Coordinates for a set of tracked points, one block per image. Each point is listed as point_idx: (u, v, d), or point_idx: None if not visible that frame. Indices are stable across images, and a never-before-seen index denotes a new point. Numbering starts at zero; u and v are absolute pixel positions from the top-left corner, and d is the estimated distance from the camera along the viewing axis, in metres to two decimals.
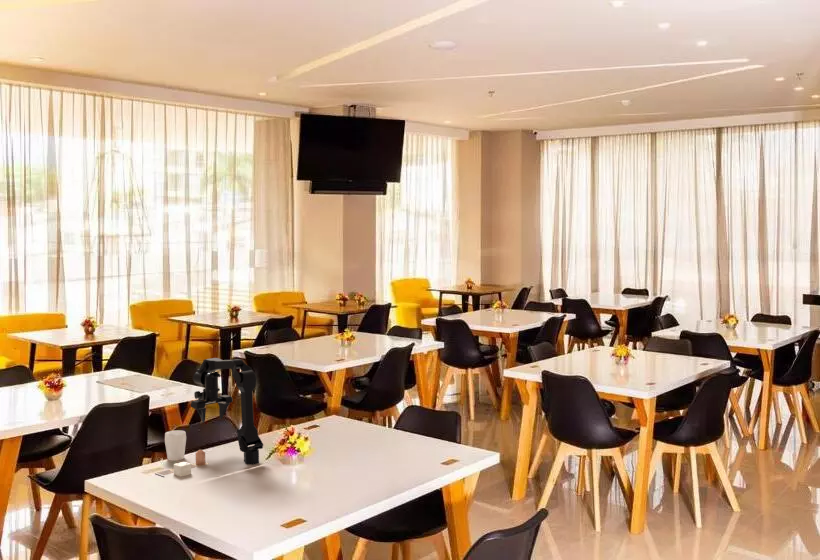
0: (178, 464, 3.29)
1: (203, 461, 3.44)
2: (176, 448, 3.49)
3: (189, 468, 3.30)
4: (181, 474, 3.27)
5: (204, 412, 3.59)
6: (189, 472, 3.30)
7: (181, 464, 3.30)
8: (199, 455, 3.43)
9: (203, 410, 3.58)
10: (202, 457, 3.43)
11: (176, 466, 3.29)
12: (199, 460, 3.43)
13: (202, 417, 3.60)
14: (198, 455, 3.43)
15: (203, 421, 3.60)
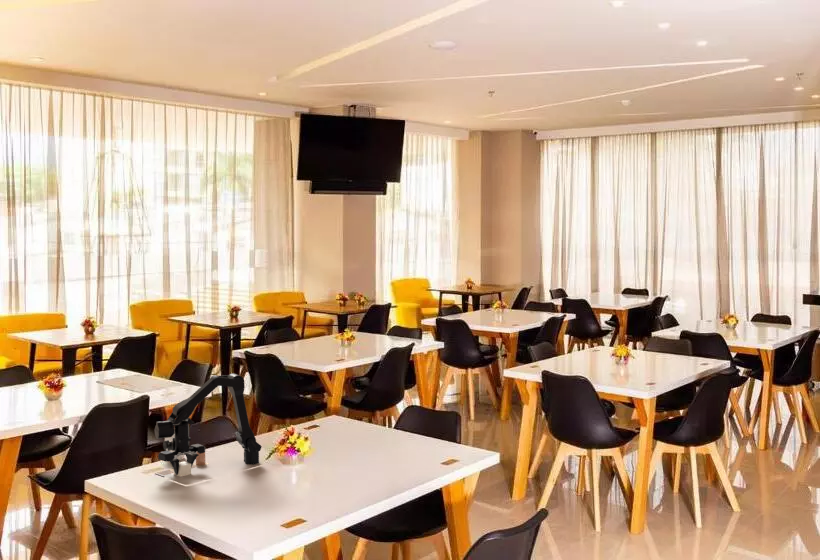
0: None
1: (203, 461, 3.44)
2: None
3: (189, 468, 3.30)
4: (181, 474, 3.27)
5: (177, 464, 3.26)
6: (189, 472, 3.30)
7: (181, 464, 3.30)
8: (199, 455, 3.43)
9: (176, 462, 3.25)
10: (202, 457, 3.43)
11: None
12: (199, 460, 3.43)
13: (175, 469, 3.27)
14: None
15: (176, 473, 3.28)
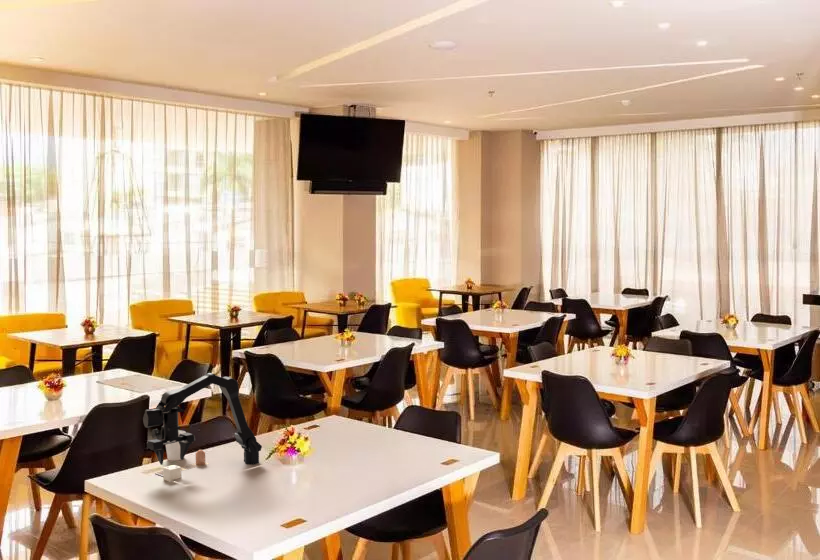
0: (168, 467, 3.25)
1: (203, 461, 3.44)
2: (176, 448, 3.49)
3: (179, 471, 3.25)
4: (171, 478, 3.23)
5: (162, 453, 3.19)
6: (179, 475, 3.25)
7: (171, 467, 3.25)
8: (199, 455, 3.43)
9: (161, 451, 3.18)
10: (202, 457, 3.43)
11: (166, 469, 3.24)
12: (199, 460, 3.43)
13: (160, 459, 3.21)
14: (198, 455, 3.43)
15: (161, 463, 3.21)
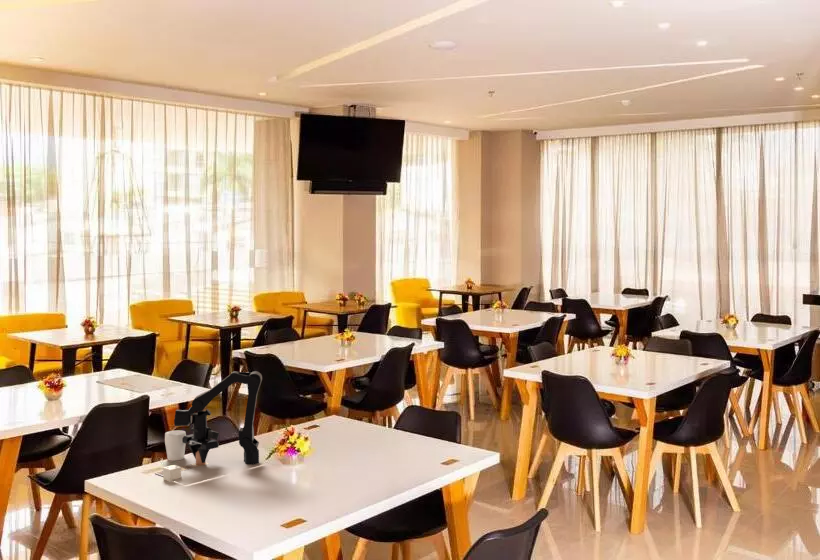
0: (168, 467, 3.25)
1: None
2: (176, 448, 3.49)
3: (179, 471, 3.25)
4: (171, 478, 3.23)
5: (191, 450, 3.45)
6: (179, 475, 3.25)
7: (171, 467, 3.25)
8: (199, 455, 3.43)
9: (189, 447, 3.45)
10: None
11: (166, 469, 3.24)
12: (199, 460, 3.43)
13: None
14: (198, 455, 3.43)
15: None
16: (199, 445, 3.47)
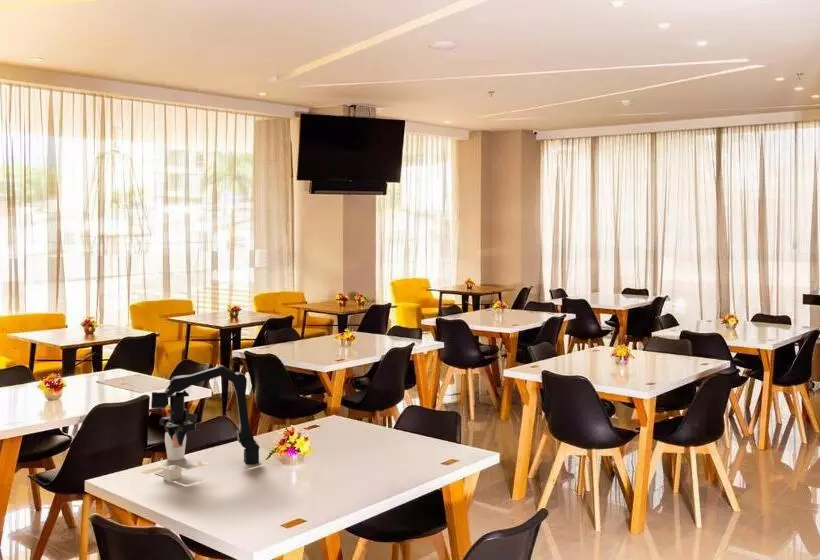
0: (168, 467, 3.25)
1: None
2: (176, 448, 3.49)
3: (179, 471, 3.25)
4: (171, 478, 3.23)
5: (168, 432, 3.36)
6: (179, 475, 3.25)
7: (171, 467, 3.25)
8: (176, 437, 3.34)
9: (166, 429, 3.37)
10: None
11: (166, 469, 3.24)
12: (176, 442, 3.34)
13: None
14: (175, 437, 3.34)
15: None
16: (176, 427, 3.39)
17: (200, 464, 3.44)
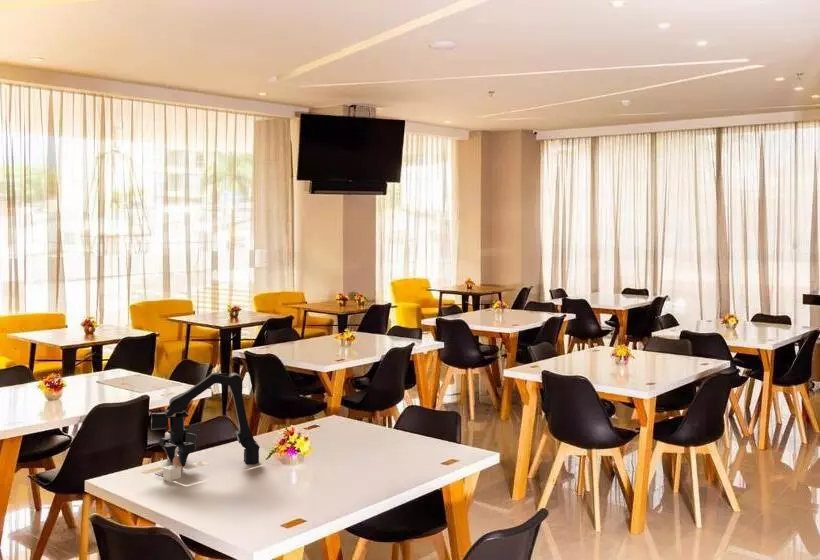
0: (168, 467, 3.25)
1: None
2: (176, 448, 3.49)
3: (179, 471, 3.25)
4: (171, 478, 3.23)
5: (166, 452, 3.38)
6: (179, 475, 3.25)
7: (171, 467, 3.25)
8: (176, 460, 3.35)
9: (164, 449, 3.38)
10: (179, 462, 3.35)
11: (166, 469, 3.24)
12: (176, 465, 3.35)
13: None
14: (175, 460, 3.35)
15: (170, 461, 3.39)
16: (174, 447, 3.40)
17: (200, 464, 3.44)
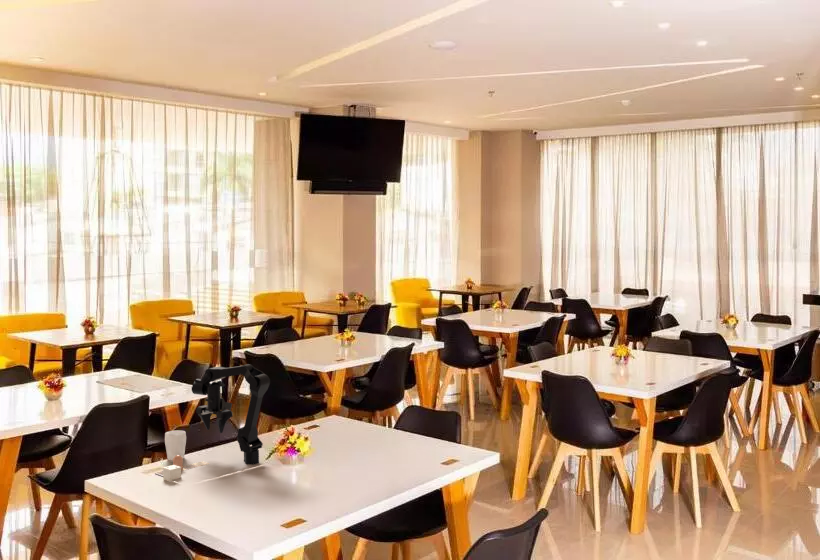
0: (168, 467, 3.25)
1: None
2: (176, 448, 3.49)
3: (179, 471, 3.25)
4: (171, 477, 3.23)
5: (202, 419, 3.57)
6: (179, 475, 3.25)
7: (171, 467, 3.25)
8: (176, 460, 3.35)
9: (200, 416, 3.57)
10: (179, 462, 3.35)
11: (166, 469, 3.24)
12: (176, 465, 3.35)
13: None
14: (175, 460, 3.35)
15: (206, 428, 3.58)
16: (209, 415, 3.59)
17: (200, 464, 3.44)
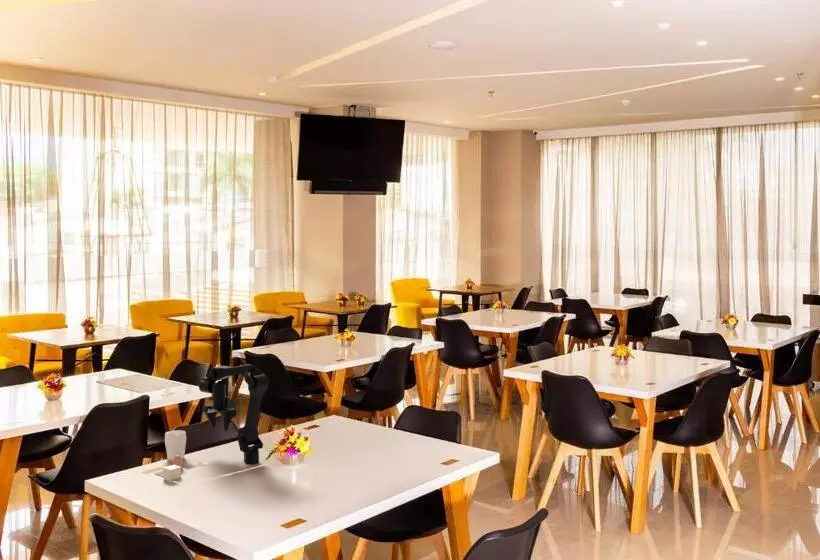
0: (168, 467, 3.25)
1: None
2: (176, 448, 3.49)
3: (179, 471, 3.25)
4: (171, 478, 3.23)
5: (207, 417, 3.60)
6: (179, 475, 3.25)
7: (171, 467, 3.25)
8: (176, 460, 3.35)
9: (206, 415, 3.60)
10: (179, 462, 3.35)
11: (166, 469, 3.24)
12: (176, 465, 3.35)
13: None
14: (175, 460, 3.35)
15: (212, 426, 3.61)
16: (215, 413, 3.62)
17: (200, 464, 3.44)
